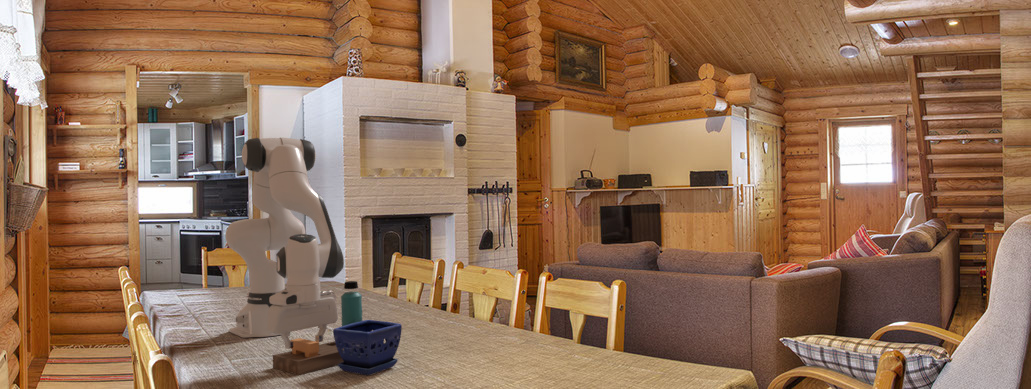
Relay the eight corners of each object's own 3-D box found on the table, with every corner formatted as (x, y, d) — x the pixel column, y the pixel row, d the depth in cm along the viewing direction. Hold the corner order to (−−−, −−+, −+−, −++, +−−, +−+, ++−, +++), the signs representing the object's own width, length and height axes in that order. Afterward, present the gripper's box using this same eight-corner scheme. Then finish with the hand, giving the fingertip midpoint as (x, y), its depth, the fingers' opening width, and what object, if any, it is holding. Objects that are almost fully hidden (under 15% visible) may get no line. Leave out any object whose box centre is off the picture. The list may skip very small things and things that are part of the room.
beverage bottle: (358, 349, 206) (356, 282, 205) (337, 348, 207) (336, 282, 207) (366, 344, 212) (365, 280, 212) (347, 343, 213) (345, 279, 213)
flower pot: (369, 379, 172) (368, 332, 172) (332, 372, 179) (331, 327, 179) (404, 367, 184) (403, 323, 184) (368, 361, 191) (367, 318, 191)
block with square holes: (273, 368, 185) (272, 355, 185) (345, 350, 204) (345, 339, 204) (298, 374, 177) (298, 361, 177) (371, 356, 196) (371, 344, 196)
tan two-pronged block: (319, 368, 184) (318, 342, 184) (310, 370, 182) (310, 344, 182) (299, 363, 190) (299, 338, 190) (291, 365, 188) (290, 339, 188)
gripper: (328, 288, 196) (329, 336, 196) (263, 298, 180) (264, 350, 180) (342, 290, 192) (343, 339, 192) (277, 300, 176) (278, 353, 176)
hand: (304, 344), depth 186 cm, fingers open, 8 cm apart
